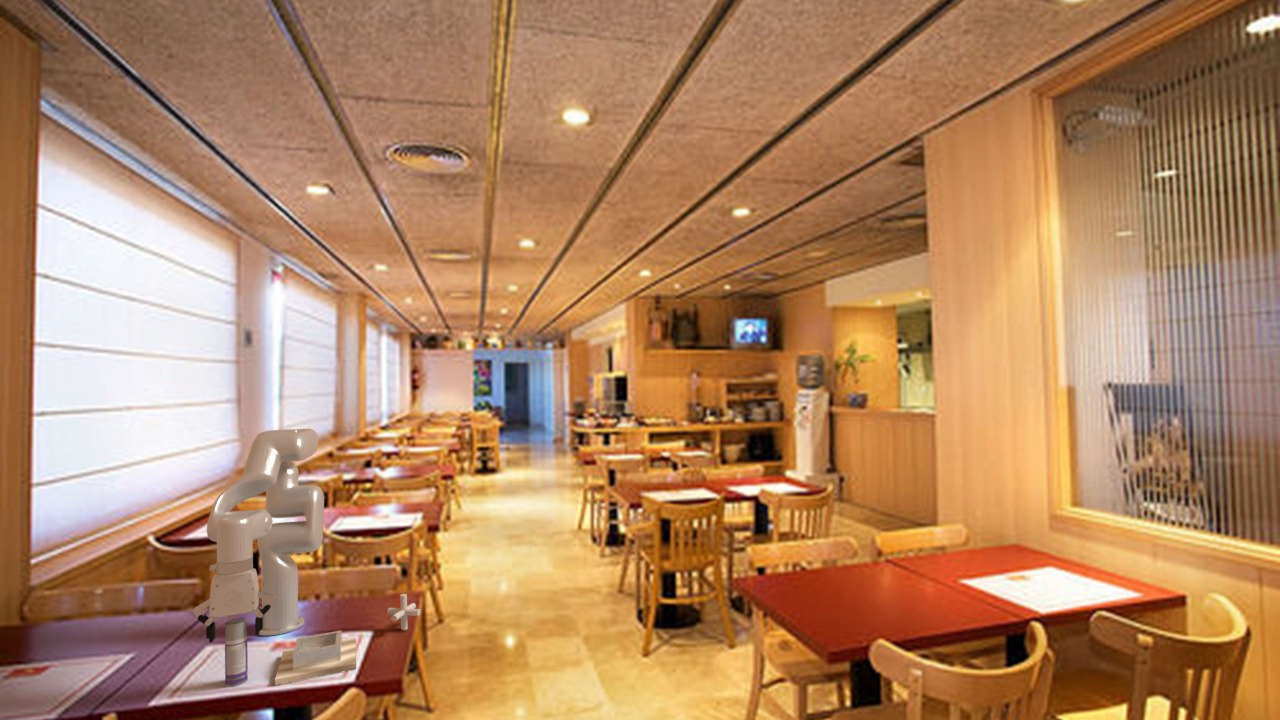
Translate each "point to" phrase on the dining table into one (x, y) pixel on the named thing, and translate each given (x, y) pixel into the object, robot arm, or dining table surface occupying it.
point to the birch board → (290, 675)
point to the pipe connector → (403, 611)
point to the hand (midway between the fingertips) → (235, 636)
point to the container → (236, 652)
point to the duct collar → (317, 650)
